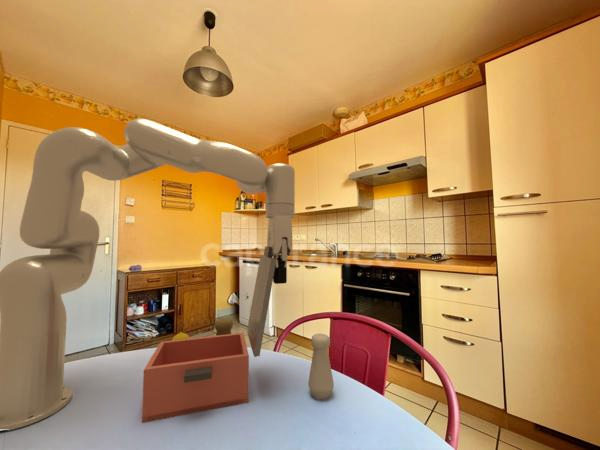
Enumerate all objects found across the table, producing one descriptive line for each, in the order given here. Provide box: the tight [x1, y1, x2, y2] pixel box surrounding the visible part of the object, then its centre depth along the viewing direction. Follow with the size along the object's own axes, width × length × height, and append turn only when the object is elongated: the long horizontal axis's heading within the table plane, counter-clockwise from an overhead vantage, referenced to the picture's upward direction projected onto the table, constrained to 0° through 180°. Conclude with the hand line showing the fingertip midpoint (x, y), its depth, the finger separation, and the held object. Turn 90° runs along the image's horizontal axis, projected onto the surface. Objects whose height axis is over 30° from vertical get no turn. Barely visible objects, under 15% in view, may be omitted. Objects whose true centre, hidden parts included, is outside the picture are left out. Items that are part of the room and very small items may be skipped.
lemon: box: [171, 331, 191, 341], centre depth 73 cm, size 6×6×8 cm
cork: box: [214, 317, 234, 336], centre depth 75 cm, size 6×6×11 cm
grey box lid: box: [246, 245, 276, 358], centre depth 63 cm, size 24×16×1 cm
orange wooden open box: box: [141, 332, 250, 424], centre depth 58 cm, size 20×19×10 cm
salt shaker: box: [307, 332, 335, 400], centre depth 57 cm, size 6×6×13 cm
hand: (279, 282), depth 64 cm, fingers closed
